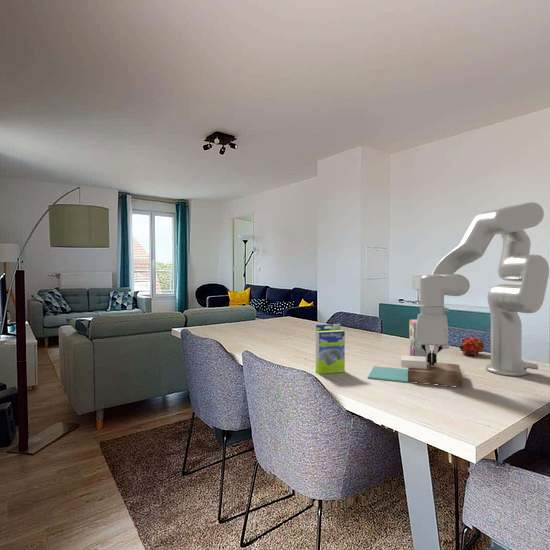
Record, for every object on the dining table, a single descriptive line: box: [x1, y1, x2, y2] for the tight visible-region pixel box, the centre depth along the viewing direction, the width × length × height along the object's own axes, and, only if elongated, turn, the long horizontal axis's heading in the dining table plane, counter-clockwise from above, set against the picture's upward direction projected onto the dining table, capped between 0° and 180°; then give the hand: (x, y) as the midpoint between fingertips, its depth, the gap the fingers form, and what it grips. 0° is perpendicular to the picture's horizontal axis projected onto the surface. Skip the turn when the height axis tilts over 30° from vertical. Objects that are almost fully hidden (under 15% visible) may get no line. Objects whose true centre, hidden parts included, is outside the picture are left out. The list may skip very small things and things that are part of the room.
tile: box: [400, 355, 427, 369], centre depth 127 cm, size 8×7×2 cm
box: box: [314, 323, 346, 375], centre depth 134 cm, size 10×4×17 cm, turn 106°
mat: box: [367, 365, 409, 383], centre depth 130 cm, size 13×15×1 cm
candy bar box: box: [408, 319, 427, 361], centre depth 147 cm, size 11×5×16 cm, turn 168°
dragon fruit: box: [459, 335, 485, 357], centre depth 159 cm, size 8×8×12 cm
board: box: [407, 362, 463, 388], centre depth 124 cm, size 16×14×4 cm
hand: (431, 364), depth 125 cm, fingers closed
